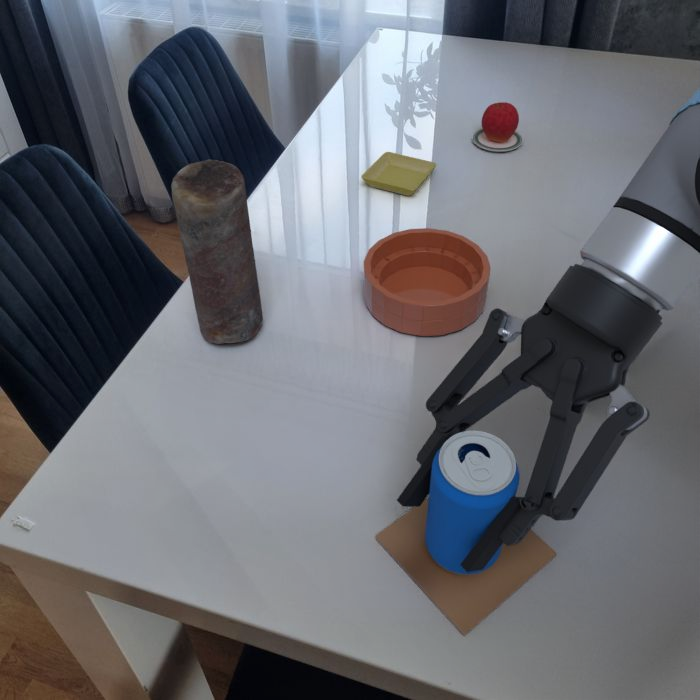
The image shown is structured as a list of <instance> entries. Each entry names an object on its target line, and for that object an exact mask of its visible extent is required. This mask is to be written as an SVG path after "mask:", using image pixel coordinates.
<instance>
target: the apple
mask: <svg viewBox="0 0 700 700" xmlns="http://www.w3.org/2000/svg"><path fill="white" fill-rule="evenodd" d="M519 122H520V116H519V112H518V109H517V108H516V106H515V105H513V104H512V103H509V102H507V101H506V102H504V101H503V102H502V101H501V102H494V103H491V104H490V105H488V106H487V107H486V108H485V110H484V112H483V115H482V117H481V128H479V129H478V130H476V131H475V132H474V133H473V134H472V139H471V140H472V142H473V143H474V144H475V145H476V146H477V147H479V148H480V149H483V150H486V151H491V152H499V153H500V152H510V151H513V150H516V149H518V148H519V147H521V146H522V144H523V143H524V138H523V136H522V134H520V133H519V132H518V131H517V128H518V126H519Z"/></svg>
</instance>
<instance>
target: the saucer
mask: <svg viewBox="0 0 700 700" xmlns="http://www.w3.org/2000/svg"><path fill="white" fill-rule="evenodd" d="M437 166H438V164H437V163H436V162H434V161H430V160H426V159H421V158H417V157H413V156H409V155H404V154H400V153H396V152H393V151H386V152H384V153H382V154H381V155H380V156H379V158H378V159H377V160H376V161H375V162H374V163H373V164H372V165H371V166H370V167H369V168H368V169H366V171H365V172H364V173H363V174H361V176H360V178H361V179H362V180H363V181H364V182H365V183H366V184H367V185H369V186H370V187H371V188H372V187H373V188H375V189H379V190H384V191H388V192H392V193H396V194H399V195H403V196H407V197H409V196H411V195H413V194H414V193H415V192H416V190H418V188H419V187H420V186H421V185H422V184H423V182H424V181H425V180H426V179H427V178H428V176H429V175H430V174H431V173H432V172H433V171H434V169H435V168H436V167H437Z"/></svg>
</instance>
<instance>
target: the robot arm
mask: <svg viewBox="0 0 700 700" xmlns="http://www.w3.org/2000/svg"><path fill="white" fill-rule="evenodd" d="M579 255H580V258H581V260H583V261H582V262H581V264H578V263H574V264H573V265H569V267H568V268H567V269H566V271H565V272H564V274H563V275H562V276H561V278H560V279H559V281H558V282H557V284H556V285H555V286H554V288H553V289H552V291H551V292H550V293H549V295H548V296H547V297H546V300H545V301H544V303H543V305H542V306H541V308H540V310H539V311H537V312H536V313H534V314H533V315H531V316H529V317H528V318H526V319H523V318H521V317H517V316H514V315H511V314H510V313H508V312H506V311H504V310H503V309H501V308H499V307H498V308H497V307H496V308H494V309H492V310H491V311H490V313H489V315H488V318H487V320H486V323H485V325H484V328H483V330H482V333H481V334H480V336H478V338H477V339H476V340H475V341H474V343H473V344H472V345H471V346H470V348H469V349H468V350H467V351H466V353H464V355H463V356H462V357H461V358H460V360H458V362H457V363H456V365H455V366H454V367H453V368H452V369H451V371H450V372H449V373H448V374H447V375H446V377H445V378H444V379H443V380H442V382H441V383H440V384H439V385H438V386H437V388H435V390H434V391H433V392H432V393H431V395H430V396H429V397H428V398H427V400H426V402H425V408H426V410H427V411H428V412H430V413H431V415H432V417H433V418H434V421H435V428H434V430H433V431H432V432H431V434H430V436H429V437H428V438H427V440H426V441H425V443H424V444H423V445H422V447H421V448H420V449H419V451H418V453H417V455H416V459H415V460H416V462H418V463H419V464H420V465H421V466H420V467H419V468H418V469H417V471H416V472H415V474H414V475H413V477H411V479H410V481H409V482H408V484H407V485H406V487H405V488H404V489H403V491H402V492H401V493H400V494H399V496H398V498H397V499H396V501H397V502H398V503H399V504H400V505H401V506H402V507H403V508H404V507H405V508H406V507H416V506H420V505H421V504H422V503H423V501H424V500H425V499H427V498H428V497H429V491H430V481H431V471H432V463H433V459H434V457H435V455H436V453H437V452H438V450H439V449H440V448H441V447H442V446H443V444H444V443H445V442H446V441H447V440H448V439H449V438H450V437H452V436H453V435H455V434H458V433H460V432H464V431H468V429H470V428H471V427H472V426H474V425H475V424H476V423H478V422H479V421H481V420H482V419H483V418H485V417H486V416H488V415H489V414H491V413H492V412H493V411H495V410H496V409H498V407H500V406H501V405H503V404H505V402H507V401H509V400H510V399H511V398H513V397H514V396H515V395H517V394H518V393H519V392H521V391H523V390H527V389H529V388H530V387H531V386H534V387H535V388H538V389H540V390H541V392H542V393H543V394H544V395H545V396H546V398H548V399H549V400H550V401H552V403H551V405H550V409H549V420H548V423H547V427H546V429H545V433H544V435H543V439H542V442H541V445H540V448H539V451H538V453H537V457H536V459H535V463H534V466H533V469H532V472H531V475H530V479H529V482H528V485H527V488H526V490H525V494H524V496H515V497H511V499H510V500H509V502H508V503H507V504H506V505H505V507H504V508H503V509H502V510H501V511H500V513H499V514H498V515H497V517H496V518H495V519H494V521H493V522H492V523H491V525H490V526H489V527H488V529H487V530H486V531H485V533H484V534H483V535H482V537H481V538H480V539H479V540H478V542H477V543H476V544H475V546H474V547H473V548H472V550H471V551H470V552H469V554H468V555H467V556H466V558H465V559H464V560H463V562H462V563H461V564H460V565H461V566H462V567H463V568H464V569H465V570H466V571H467V572H472V571H477V570H483V569H484V567H485V566H486V565H487V563H488V562H489V561H490V559H491V558H492V557H493V556H494V554H495V553H496V552H497V550H498V549H499V548H500V546H501V545H502V544H503V542H504V543H505V544H506V545H507V546H513V545H516V544H518V543H520V542H521V541H522V540H523V539H524V537H525V536H526V535H527V533H528V532H529V531H530V529H531V530H532V529H533V527H534V526H535V524H536V523H537V522H538V520H539V519H540V518H541V517H542V516H546V517H548V518H551V519H552V520H554V521H557V522H558V521H559V522H560V521H571V520H574V519H575V517H576V516H577V515H578V514H579V512H580V510H581V509H582V507H583V505H584V504H585V502H586V501H587V499H588V497H589V496H590V495H591V493H592V491H593V490H594V488H595V487H596V485H597V484H598V482H599V481H600V479H601V477H602V475H603V474H604V472H605V471H606V470H607V467H608V466H609V464H610V463H611V461H612V460H613V458H614V457H615V455H616V454H617V452H618V451H619V450H620V447H621V446H622V445H623V442H624V441H625V439H626V438H627V437H628V435H630V434H631V433H632V432H634V431H635V430H637V429H638V428H639V427H641V426H642V425H643V424H645V423H646V422H647V421H649V419H650V416H651V415H650V412H651V411H650V410H649V408H647V407H646V406H645V405H642V404H640V402H639V401H637V400H636V398H635V397H634V396H633V395H632V394H631V392H629V391H628V389H627V388H626V387H625V385H626V379H627V374H628V371H629V368H630V367H631V365H632V364H633V363H634V362H635V361H636V360H637V358H638V356H639V355H640V354H641V353H642V351H643V350H644V349H645V347H646V346H647V345H648V344H649V342H650V341H651V340H652V338H653V337H654V335H655V334H656V333H657V332H658V331H659V329H660V328H661V326H662V325H663V322H662V321H663V317H662V315H660V314H659V313H660V311H662V310H665V311H671V310H673V309H674V308H675V307H676V306H677V304H678V303H679V302H680V301H681V299H682V298H683V297H684V296H685V294H686V293H687V292H688V290H689V289H690V288H691V287H692V285H693V284H694V282H695V281H696V280H697V279H698V277H699V276H700V86H699V87H698V88H697V89H696V91H695V92H694V93H693V94H692V95H691V97H690V98H689V99H688V101H687V102H685V104H684V105H683V106H681V107H680V108H679V109H678V110H677V112H676V113H675V114H674V115H673V117H672V118H671V121H670V122H669V124H668V126H667V128H666V129H665V131H664V132H663V134H662V135H661V137H660V138H659V139H658V141H657V142H656V144H655V146H654V147H653V148H652V149H651V151H650V153H648V156H647V157H646V158H645V160H644V161H643V162H642V164H641V166H640V167H639V168H638V170H637V172H636V173H635V174H634V176H633V177H632V178H631V180H630V181H629V183H628V184H627V186H626V187H625V189H624V190H623V192H622V193H621V194H620V196H619V198H618V199H617V200H616V202H615V203H614V205H613V206H612V208H610V210H609V212H607V214H606V216H605V217H604V218H603V220H601V222H600V224H599V225H598V226H597V228H596V229H595V230H594V232H593V233H592V234H591V236H590V237H589V238H588V240H587V241H586V242H585V244H584V245H583V247H581V249H580V250H579ZM519 336H520V355H519V356H518V357H516V358H515V359H514V360H512V361H511V362H510V363H508V364H507V365H505V366H504V367H503V368H502V369H501V371H500V373H499V374H498V375H496V376H495V377H493V378H492V379H491V380H490V381H488V382H487V383H486V384H484V385H483V386H481V387H479V388H478V389H477V390H476V391H475V392H473V393H472V394H471V395H468V394H469V392H470V391H471V390H472V389H473V387H474V386H475V385H476V384H478V382H479V381H480V379H481V378H482V377H483V376H484V375H485V373H486V372H487V371H488V370H489V368H490V367H491V366H492V365H493V364H494V363H495V361H496V360H497V359H498V358H499V356H500V355H501V354H502V353H503V352H504V350H505V349H506V347H507V345H508V344H511V343H513V342H514V341H516V339H517V338H518V337H519ZM467 395H468V397H467V398H465V397H466V396H467ZM609 396H610V399H611V400H610V403H609V405H608V406H607V408H606V409H605V411H606V412H605V413H606V417H607V418H606V420H604V421H603V422H602V424H601V425H600V427H598V429H597V431H596V432H595V434H594V435H593V437H592V438H591V440H590V442H589V443H588V445H587V446H586V448H585V450H584V452H583V453H582V455H581V456H580V458H579V459H578V461H577V463H576V464H575V465H574V467H573V469H572V471H571V472H570V473H569V474H568V477H567V478H566V480H565V482H564V483H563V485H562V487H561V488H560V489H559V491H558V493H557V494H556V491H557V488H558V485H559V482H560V478H561V476H562V472H563V469H564V466H565V463H566V461H567V457H568V454H569V451H570V448H571V446H572V443H573V439H574V435H575V432H576V430H577V427H578V425H579V424H580V423H581V421H582V418H583V416H584V412H585V409H586V407H587V403H591V402H594V401H597V400H600V399H603V398H606V397H609ZM464 398H465V399H464ZM463 399H464V400H463ZM462 400H463V401H462ZM555 494H556V496H555Z"/></svg>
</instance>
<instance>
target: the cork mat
mask: <svg viewBox="0 0 700 700" xmlns="http://www.w3.org/2000/svg"><path fill="white" fill-rule="evenodd" d="M428 501H429V496H427V497H426V499H425V500H424V501H423V503H422V504H421V505H420V506H413V507H412V508H411V510H409V511H407V512H406V513H405V514H404V515H402V516H401V517H399V518H398V519H396V520H395V521H394V522H392V524H390V525H388V526H387V527H386V528H384V529H383V530H382V531H380V532H379V533H377V534H376V535H375V540H376V541H377V543H378V544H379V545H380V546H381V547H382V548H383V549H384V551H385V552H386V553H388V555H389V556H390V557H391V559H393V560H394V561H395V563H396V564H397V565H398V566H399V567H400V569H402V570H403V571H404V573H406V575H407V576H408V577H409V578H410V579H411V580H412V581H413V582H414V584H415V585H416V586H417V587H418V588H419V589H420V590H421V591H422V592H423V593H424V595H425V596H427V598H428V599H429V600H430V601H431V602H432V603H433V605H435V607H436V608H437V609H438V610H439V611H440V612H441V613H442V615H444V616H445V618H446V619H447V620H448V621H449V622H450V623H451V624H452V625H453V626H454V627H455V629H456V630H457V631H458V632H459V633H460V634H461V635H462V636H463V637H466V636H467V635H468V634H469V633H470V632H471V631H473V629H475V628H476V627H477V626H478V625H479V624H481V623H482V622H483V621H484V620H485V619H486V618H487V617H489V616H490V615H491V614H492V613H493V612H494V611H495V610H497V608H500V606H501V605H502V604H503V603H505V602H506V601H507V600H509V598H510V597H511V596H513V595H514V594H515V593H516V592H517V591H518V590H519V589H521V588H522V587H523V586H524V585H525V584H526V583H528V582H529V581H530V580H531V579H532V578H533V577H534V576H535V575H537V574H538V573H539V572H540V571H542V569H544V568H545V567H546V566H547V565H548V564H549V563H551V562H552V561H553V560H554V559H555V558H556V557H557V554H558V553H557V551H555V549H553V548H552V547H551V546H550V545H549V544H548V543H547V542H545V541H544V540H543V539H542V538H541V537H540V536H539V535H537V533H536V532H534V531H533V529H532V528H531V529H530V531H529V532H528V533H527V535H526V536H525V537H524V539H523V540H522V541H521V542H520V543H518V544H516V545H513V546H507V545H506V544H505V543H504V542H503V545H502V549H501V553H500V555H499V557H498V559H497V560H496V562H495V563H494V564H493V565H492V566H491V567H490V568H488V569H486V570H485V571H482V572H480V573H476V574H458V573H454V572H452V571H449V570H447V569H445V568H444V567H442V566H441V565H439V564H438V563H437V562H436V561H435V560H434V559H433V557H432V556H431V554H430V553H429V551H428V549H427V546H426V541H425V530H426V520H427V511H428Z"/></svg>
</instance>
